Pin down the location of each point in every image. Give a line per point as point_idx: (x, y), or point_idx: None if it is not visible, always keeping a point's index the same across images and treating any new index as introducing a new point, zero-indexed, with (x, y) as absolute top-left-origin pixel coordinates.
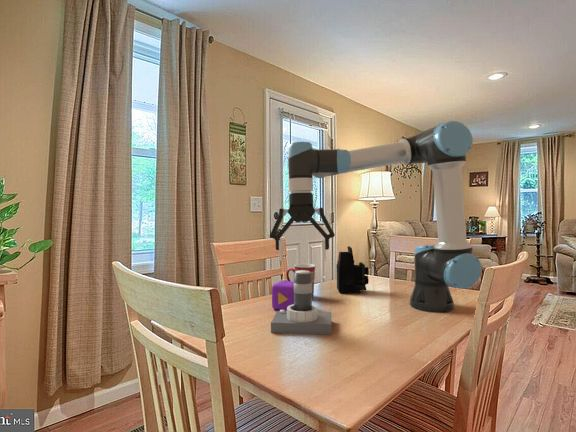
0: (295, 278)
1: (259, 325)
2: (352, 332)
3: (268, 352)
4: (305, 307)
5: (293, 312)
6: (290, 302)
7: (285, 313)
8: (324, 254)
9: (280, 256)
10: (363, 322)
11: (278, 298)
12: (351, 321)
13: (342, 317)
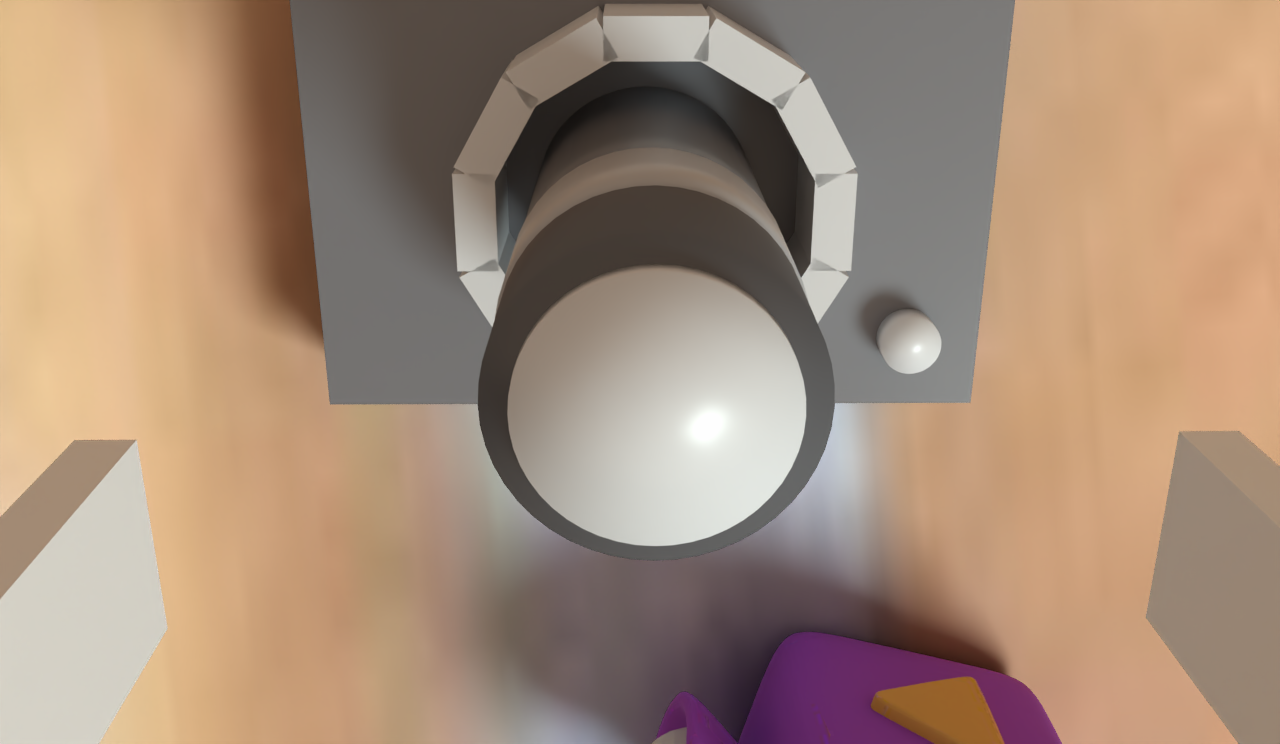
0: (783, 265)
1: (1131, 166)
2: (93, 43)
3: None
4: (603, 121)
5: (756, 42)
6: (836, 677)
7: (866, 314)
8: (25, 516)
9: (1264, 480)
10: (11, 367)
11: (990, 718)
12: (141, 387)
13: (249, 501)
